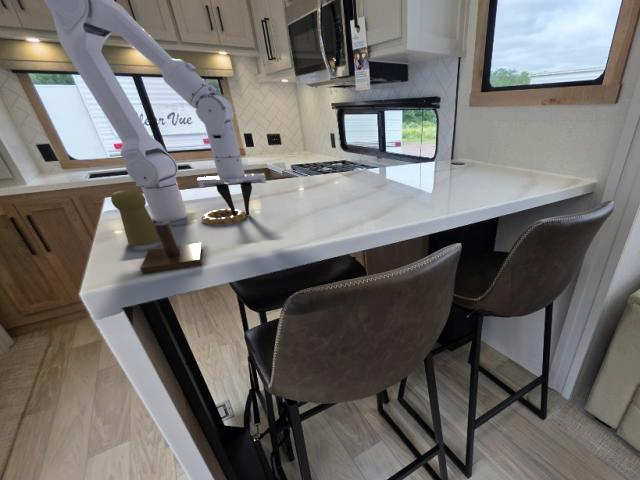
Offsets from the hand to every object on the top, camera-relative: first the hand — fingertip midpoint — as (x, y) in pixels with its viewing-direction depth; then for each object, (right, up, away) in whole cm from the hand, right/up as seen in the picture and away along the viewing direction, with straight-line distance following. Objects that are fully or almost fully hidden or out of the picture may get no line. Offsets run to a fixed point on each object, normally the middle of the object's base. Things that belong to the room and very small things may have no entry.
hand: (241, 214), depth 82 cm
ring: (-3, -1, -1) cm, 4 cm away
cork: (-13, -10, -14) cm, 21 cm away
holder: (-3, -14, -20) cm, 25 cm away
